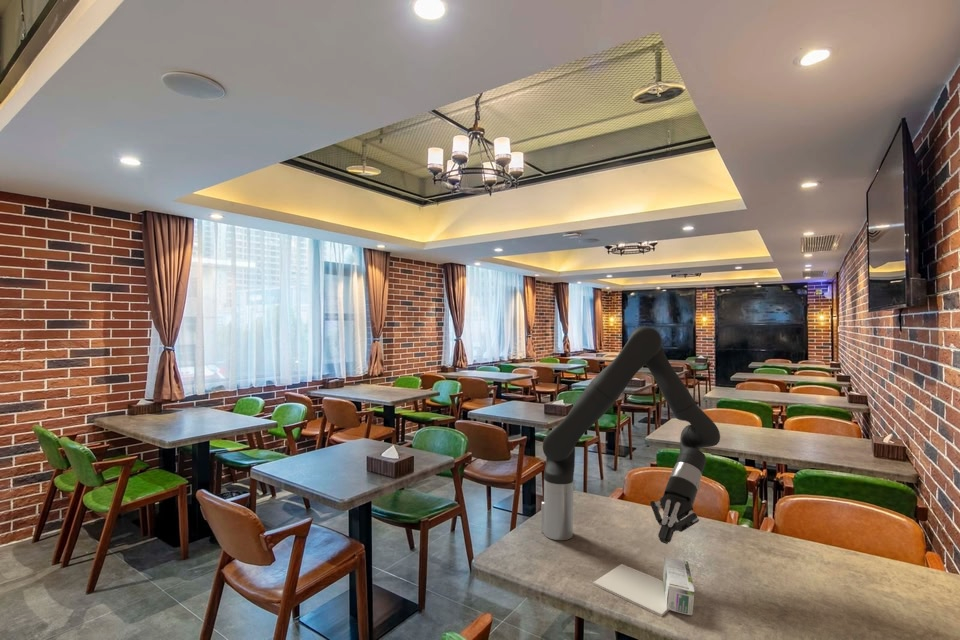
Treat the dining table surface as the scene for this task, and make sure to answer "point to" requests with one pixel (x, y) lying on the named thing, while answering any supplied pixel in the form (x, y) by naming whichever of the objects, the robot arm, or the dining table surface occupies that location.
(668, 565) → the syrup box
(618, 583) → the placemat
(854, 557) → the dining table surface
